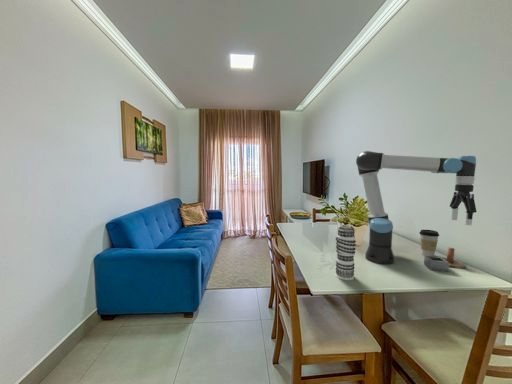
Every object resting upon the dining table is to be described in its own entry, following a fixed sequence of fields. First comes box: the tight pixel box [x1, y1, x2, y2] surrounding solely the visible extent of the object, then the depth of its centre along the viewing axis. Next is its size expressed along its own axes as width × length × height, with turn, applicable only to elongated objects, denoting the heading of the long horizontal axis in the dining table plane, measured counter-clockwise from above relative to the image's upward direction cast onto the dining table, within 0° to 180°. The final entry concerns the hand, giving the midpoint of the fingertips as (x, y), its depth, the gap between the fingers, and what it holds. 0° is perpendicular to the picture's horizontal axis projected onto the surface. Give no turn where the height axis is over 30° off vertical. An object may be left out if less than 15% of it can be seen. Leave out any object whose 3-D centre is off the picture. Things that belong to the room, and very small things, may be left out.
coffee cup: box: [418, 229, 440, 257], centre depth 142 cm, size 10×10×15 cm
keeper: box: [444, 247, 467, 269], centre depth 128 cm, size 10×10×9 cm
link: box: [423, 255, 450, 273], centre depth 123 cm, size 8×8×5 cm
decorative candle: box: [335, 224, 357, 281], centre depth 112 cm, size 9×9×25 cm
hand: (460, 222), depth 128 cm, fingers open, 13 cm apart
